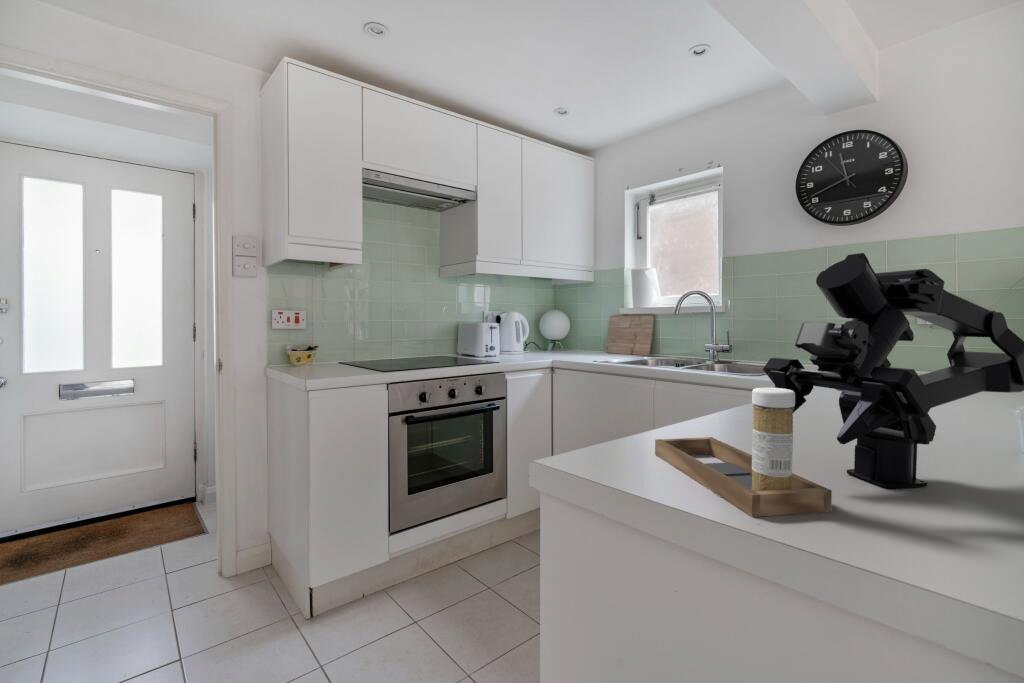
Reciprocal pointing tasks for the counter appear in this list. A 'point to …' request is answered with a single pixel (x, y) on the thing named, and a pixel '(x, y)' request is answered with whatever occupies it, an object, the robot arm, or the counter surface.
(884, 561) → the counter surface
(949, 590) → the counter surface
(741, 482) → the mats
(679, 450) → the box
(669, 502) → the counter surface
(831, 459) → the counter surface
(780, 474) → the spice jar
